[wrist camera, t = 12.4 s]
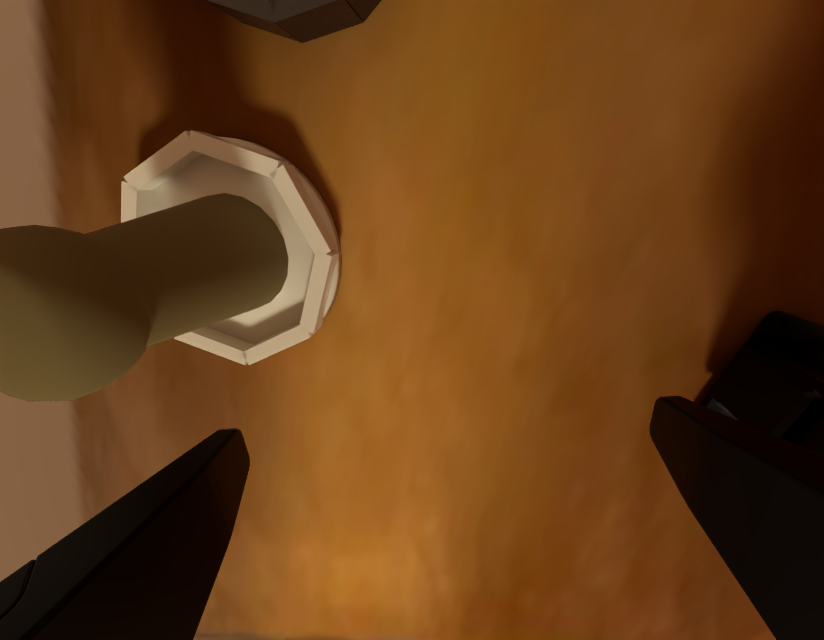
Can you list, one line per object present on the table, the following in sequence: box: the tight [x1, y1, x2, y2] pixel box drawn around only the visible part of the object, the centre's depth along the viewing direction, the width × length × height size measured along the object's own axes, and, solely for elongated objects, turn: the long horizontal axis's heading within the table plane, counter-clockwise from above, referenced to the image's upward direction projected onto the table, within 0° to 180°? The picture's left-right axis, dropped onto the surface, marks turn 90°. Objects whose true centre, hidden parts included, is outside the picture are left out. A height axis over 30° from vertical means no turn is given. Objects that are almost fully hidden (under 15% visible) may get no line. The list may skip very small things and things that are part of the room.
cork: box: [0, 193, 288, 401], centre depth 15 cm, size 6×6×11 cm
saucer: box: [121, 130, 342, 365], centre depth 20 cm, size 11×11×2 cm
